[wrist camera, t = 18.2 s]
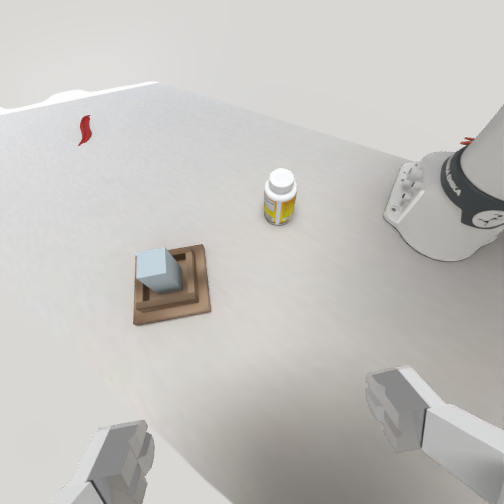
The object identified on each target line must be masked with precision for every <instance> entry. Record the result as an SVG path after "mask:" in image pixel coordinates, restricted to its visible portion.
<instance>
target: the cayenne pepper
mask: <svg viewBox="0 0 504 504" xmlns="http://www.w3.org/2000/svg"><path fill="white" fill-rule="evenodd" d="M89 116H90V115H88V116H84V117H83V118H82V120H81V123H80V129H81V132H82V140H81V142H80V143H79V145H81V144H82V143H85V142H87V141H88V140H89V139H90V137H91V131H90V128H89V120H90V118H89ZM79 145H78V146H79Z"/></svg>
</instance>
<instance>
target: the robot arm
mask: <svg viewBox="0 0 504 504" xmlns="http://www.w3.org/2000/svg"><path fill="white" fill-rule="evenodd" d="M465 139H467V140H470V141H467V142H461V143H460V144H463V145H467V146H465V147H463V148H462V149H460V150H459V151H457V152H434V153H430V154H428V155H426V156H425V157H424V158H423V159H422V160H421V161H420V162H410V163H406V164H403V165H402V167H401V168H400V170H399V173H398V176H397V178H396V181H395V184H394V187H393V190H392V192H391V195H390V198H389V201H388V204H387V206H386V209H385V212H384V218H385V219H386V220H387V221H388V222H389V223H390V224H391V225H393V226H394V227H396V229H397V230H398V231H399V232H400V234H401V235H402V237H403V238H404V240H405V241H406V242H407V243H408V244H409V245H410V246H411V247H413V248H414V249H415V250H417V251H418V252H420V253H422V254H424V255H426V256H428V257H430V258H433V259H437V260H441V261H459V260H463V259H466V258H468V257H469V256H471V255H472V254H473V253H474V252H475V251H476V250H477V249H479V248H480V247H481V246H483V245H486V244H489V243H491V242H493V241H494V240H495V239H496V238H497V234H499V233H500V232H501V231H503V230H504V105H503V106H502V107H501V109H500V110H499V111H498V112H497V114H496V115H495V116H494V118H493V119H492V120H491V121H490V122H489V123H488V125H487V126H486V127H485V128H484V129H483V130H482V131H481V133H480V134H479V135H478V136H477V137H476V138H475V139H474V138H467V137H466V138H465ZM471 141H472V142H471ZM392 210H393V211H394V212H393V211H392ZM366 382H367V384H368V385H369V387H368V388H367V389H366V399H367V402H368V406H369V408H370V410H371V412H372V414H373V416H374V417H375V419H376V420H377V421H379V422H380V423H382V424H383V425H384V429H383V432H384V434H385V436H386V437H387V439H388V441H389V442H390V444H391V446H392V447H393V449H394V450H395V452H396V453H400V452H406V451H411V450H416V449H422V451H423V452H425V453H426V454H427V455H428V456H430V457H431V458H432V459H434V460H435V461H436V462H437V463H439V464H440V465H441V466H442V467H444V468H445V469H446V470H448V471H449V472H450V473H451V474H453V475H454V476H455V477H456V478H458V479H459V480H460V481H462V482H463V483H464V484H465V485H467V486H468V487H469V488H470V489H472V490H473V491H474V492H475V493H477V494H478V495H479V496H481V497H482V498H483V499H484V500H486V501H487V502H488V503H489V504H504V430H502V429H500V428H498V427H496V426H494V425H492V424H490V423H488V422H486V421H484V420H482V419H480V418H478V417H476V416H474V415H472V414H470V413H468V412H466V411H464V410H462V409H460V408H458V407H456V406H455V405H453V404H446V403H445V402H444V401H443V400H442V399H441V398H440V397H439V396H438V395H437V394H436V393H435V392H434V391H433V390H432V389H431V388H430V386H429V385H428V384H427V383H426V382H425V381H424V380H423V379H422V378H421V377H420V376H419V375H418V374H417V373H416V372H415V371H414V370H413V369H412V368H411V367H410V366H408V365H404V366H399V367H394V368H388V369H384V370H379V371H375V372H370V373H367V375H366ZM147 428H148V425H147V423H146V421H145V420H140V421H134V422H129V423H123V424H117V425H112V426H107V427H102V428H99V429H98V430H97V431H96V432H95V433H94V435H93V437H92V439H91V441H90V443H89V445H88V447H87V449H86V451H85V453H84V455H83V457H82V459H81V461H80V463H79V464H78V466H77V468H76V471H75V472H74V474H73V476H72V478H71V480H70V482H69V484H68V486H66V487H63V488H61V490H60V491H59V492H58V493H57V494H56V495H55V496H54V497H53V498H52V499H51V500H50V501H49V502H48V503H47V504H142V503H143V499H144V495H145V491H146V487H147V481H146V478H145V476H146V474H147V473H148V471H149V470H150V469H151V467H152V463H153V459H154V449H155V446H154V440H153V437H152V435H151V434H149V433H147V432H146V431H147Z"/></svg>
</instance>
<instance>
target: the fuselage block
mask: <svg viewBox="0 0 504 504" xmlns="http://www.w3.org/2000/svg"><path fill="white" fill-rule="evenodd" d="M136 279H138V280H139V281H140V282H142V283H143V284H145V285H146V286H147V287H149V288H150V289H152V290H153V291H155V292H156V293H157V294H159V295H161V294H166V293H171V292H176V291H181V290H183V278H182V268H181V266H180V265H179V264H178V263H177V261H176V260H175V259H174V258H173V256H172V255H171V254H170V253H169V252H168V250H167V249H166V248H165V247H164V248H158V249H153V250H147V251H142V252H137V273H136Z"/></svg>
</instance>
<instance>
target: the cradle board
mask: <svg viewBox="0 0 504 504" xmlns="http://www.w3.org/2000/svg"><path fill="white" fill-rule="evenodd" d="M168 252H169V253H170V254H171V255H172V256H173V258H174V259H175V260H176V261H177V263H178V264H179V265H180V266H181V268H182V278H183V290H181V291H176V292H171V293H166V294H161V295H159V294H157V293H156V292H155V291H153V290H152V289H150V288H149V287H147V286H146V285H145V284H143V283H142V282H140V281H139V280H138V279H136V273H137V256H136V262H135V290H134V318H133V324H134V325H137V326H138V325H144V324H149V323H154V322H160V321H165V320H170V319H175V318H181V317H186V316H191V315H197V314H202V313H207V312H211V308H210V298H209V289H208V279H207V270H206V260H205V251H204V246H203V244H201V245H195V246H189V247H184V248H178V249H172V250H168Z"/></svg>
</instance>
